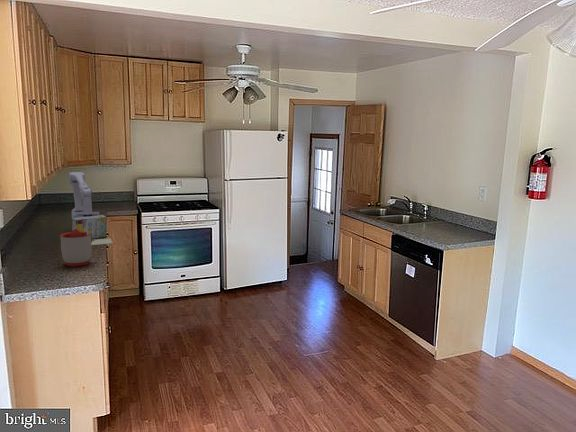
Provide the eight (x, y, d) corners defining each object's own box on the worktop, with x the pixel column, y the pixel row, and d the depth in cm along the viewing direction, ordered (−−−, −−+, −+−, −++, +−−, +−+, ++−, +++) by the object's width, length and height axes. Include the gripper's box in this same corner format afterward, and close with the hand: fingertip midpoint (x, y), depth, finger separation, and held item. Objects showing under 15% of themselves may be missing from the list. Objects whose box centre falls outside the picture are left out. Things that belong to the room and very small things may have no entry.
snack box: (101, 235, 318) (102, 214, 315) (105, 237, 315) (106, 216, 311) (71, 239, 302) (72, 217, 298) (75, 241, 299) (76, 219, 295)
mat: (68, 241, 299) (68, 241, 299) (110, 238, 311) (110, 238, 311) (69, 247, 285) (69, 246, 285) (113, 243, 297) (113, 243, 297)
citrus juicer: (101, 263, 249) (99, 228, 246) (68, 269, 237) (66, 232, 233) (88, 258, 260) (86, 224, 256) (56, 264, 247) (54, 228, 244)
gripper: (75, 207, 302) (76, 227, 304) (99, 206, 309) (100, 226, 311) (75, 206, 308) (76, 225, 310) (98, 205, 315) (99, 224, 317)
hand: (88, 225), depth 311 cm, fingers closed
